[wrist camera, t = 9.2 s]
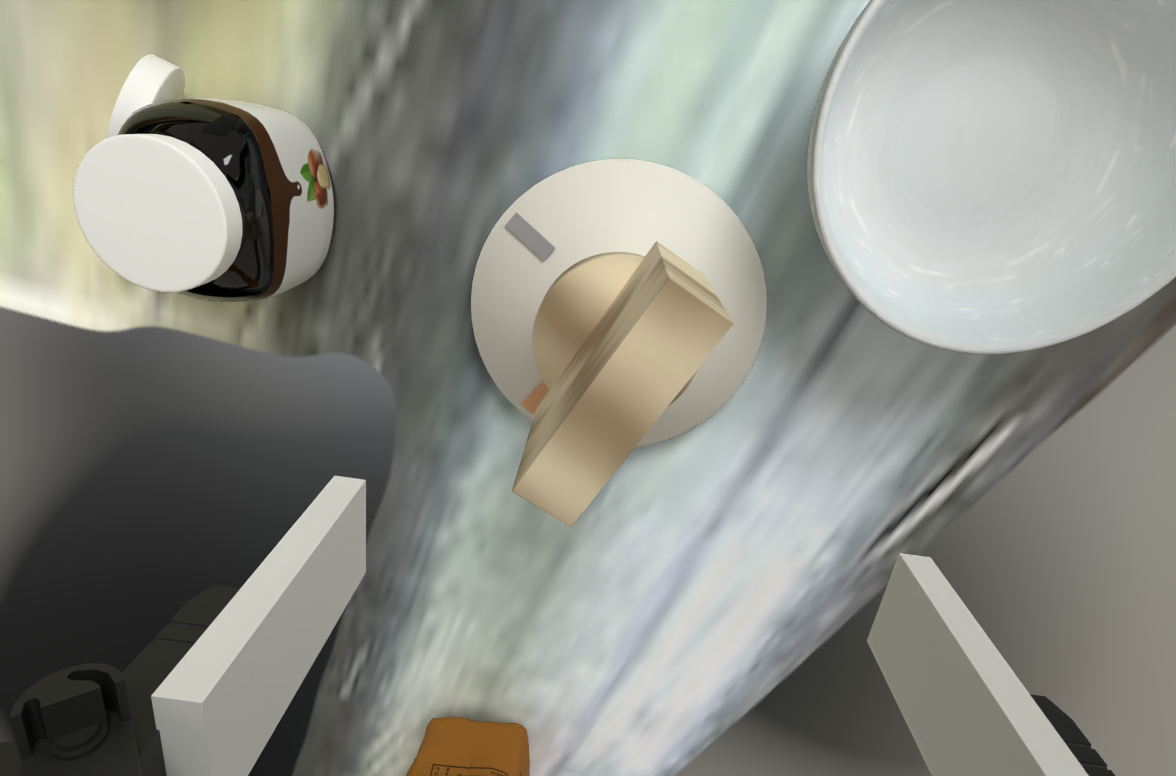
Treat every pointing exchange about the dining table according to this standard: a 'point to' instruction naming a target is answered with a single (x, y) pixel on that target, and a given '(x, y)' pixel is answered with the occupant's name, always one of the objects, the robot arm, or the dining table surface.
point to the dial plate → (616, 224)
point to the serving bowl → (999, 166)
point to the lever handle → (611, 368)
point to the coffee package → (472, 749)
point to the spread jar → (204, 192)
